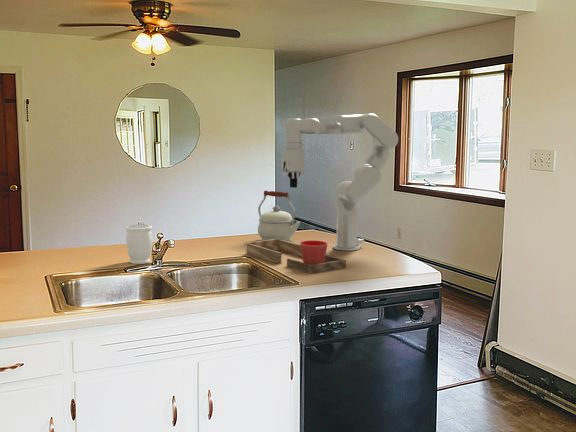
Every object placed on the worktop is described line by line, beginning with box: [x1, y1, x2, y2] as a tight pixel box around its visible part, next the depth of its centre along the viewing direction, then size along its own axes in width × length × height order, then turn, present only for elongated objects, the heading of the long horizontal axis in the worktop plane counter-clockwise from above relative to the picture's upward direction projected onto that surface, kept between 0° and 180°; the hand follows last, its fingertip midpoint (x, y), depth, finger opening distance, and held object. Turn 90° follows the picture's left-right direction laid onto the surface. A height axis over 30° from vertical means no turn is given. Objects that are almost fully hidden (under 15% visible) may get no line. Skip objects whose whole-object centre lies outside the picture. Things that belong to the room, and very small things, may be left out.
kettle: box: [257, 190, 301, 242], centre depth 292 cm, size 25×18×25 cm
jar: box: [125, 224, 154, 265], centre depth 243 cm, size 11×10×15 cm
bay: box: [286, 254, 347, 274], centre depth 239 cm, size 18×15×3 cm
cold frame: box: [245, 239, 302, 264], centre depth 259 cm, size 18×25×5 cm
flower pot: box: [299, 240, 328, 265], centre depth 239 cm, size 11×11×10 cm
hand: (293, 187), depth 267 cm, fingers closed
